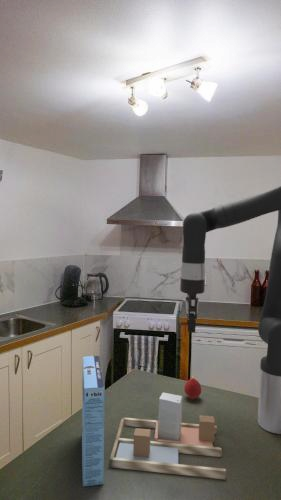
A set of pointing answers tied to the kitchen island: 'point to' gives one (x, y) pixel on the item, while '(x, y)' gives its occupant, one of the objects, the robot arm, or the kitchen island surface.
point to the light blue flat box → (92, 422)
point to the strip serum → (195, 433)
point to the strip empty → (146, 449)
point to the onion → (192, 388)
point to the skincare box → (169, 417)
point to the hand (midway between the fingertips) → (190, 328)
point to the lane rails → (182, 448)
